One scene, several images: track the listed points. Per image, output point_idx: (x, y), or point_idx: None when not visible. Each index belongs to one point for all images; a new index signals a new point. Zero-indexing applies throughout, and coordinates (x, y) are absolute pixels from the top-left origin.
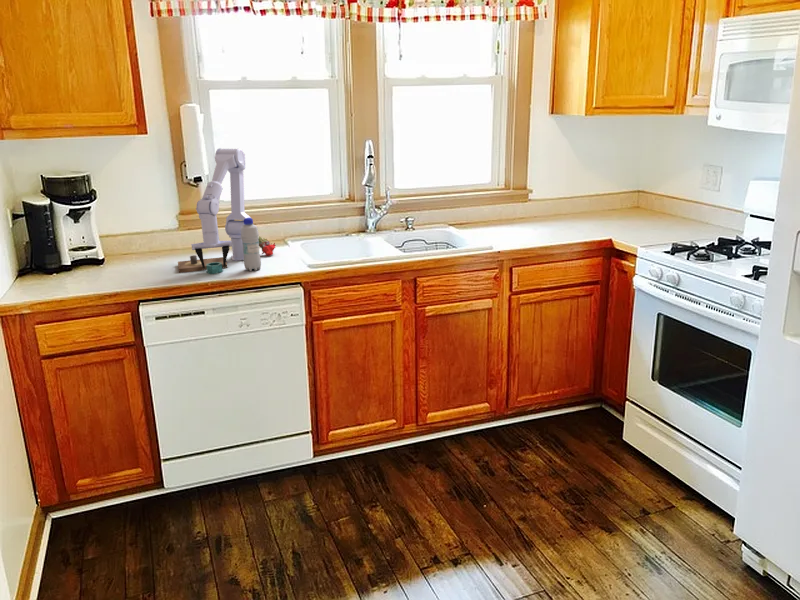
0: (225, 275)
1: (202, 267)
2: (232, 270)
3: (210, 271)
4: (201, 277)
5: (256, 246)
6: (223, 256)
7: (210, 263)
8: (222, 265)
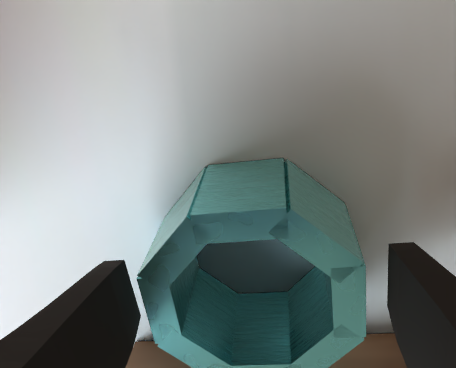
0: (99, 26)
1: (401, 359)
2: (60, 235)
3: (306, 186)
4: (444, 12)
5: None
6: (40, 358)
7: (303, 353)
8: (174, 364)
